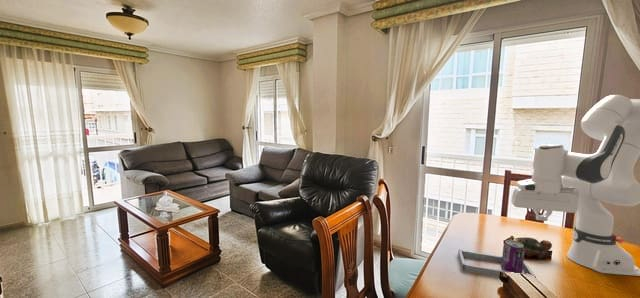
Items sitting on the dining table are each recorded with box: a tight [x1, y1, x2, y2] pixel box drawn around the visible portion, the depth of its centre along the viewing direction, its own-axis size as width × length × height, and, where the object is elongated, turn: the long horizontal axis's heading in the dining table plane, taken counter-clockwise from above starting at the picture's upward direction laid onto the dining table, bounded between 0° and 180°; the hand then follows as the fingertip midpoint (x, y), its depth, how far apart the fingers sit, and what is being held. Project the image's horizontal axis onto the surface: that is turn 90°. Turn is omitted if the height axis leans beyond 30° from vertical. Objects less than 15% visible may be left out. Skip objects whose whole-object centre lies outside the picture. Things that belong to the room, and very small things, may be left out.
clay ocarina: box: [515, 237, 553, 260], centre depth 123 cm, size 10×15×8 cm, turn 73°
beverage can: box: [501, 239, 525, 274], centre depth 110 cm, size 7×7×12 cm
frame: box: [457, 249, 537, 279], centre depth 113 cm, size 25×13×2 cm, turn 70°
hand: (541, 220), depth 105 cm, fingers closed
